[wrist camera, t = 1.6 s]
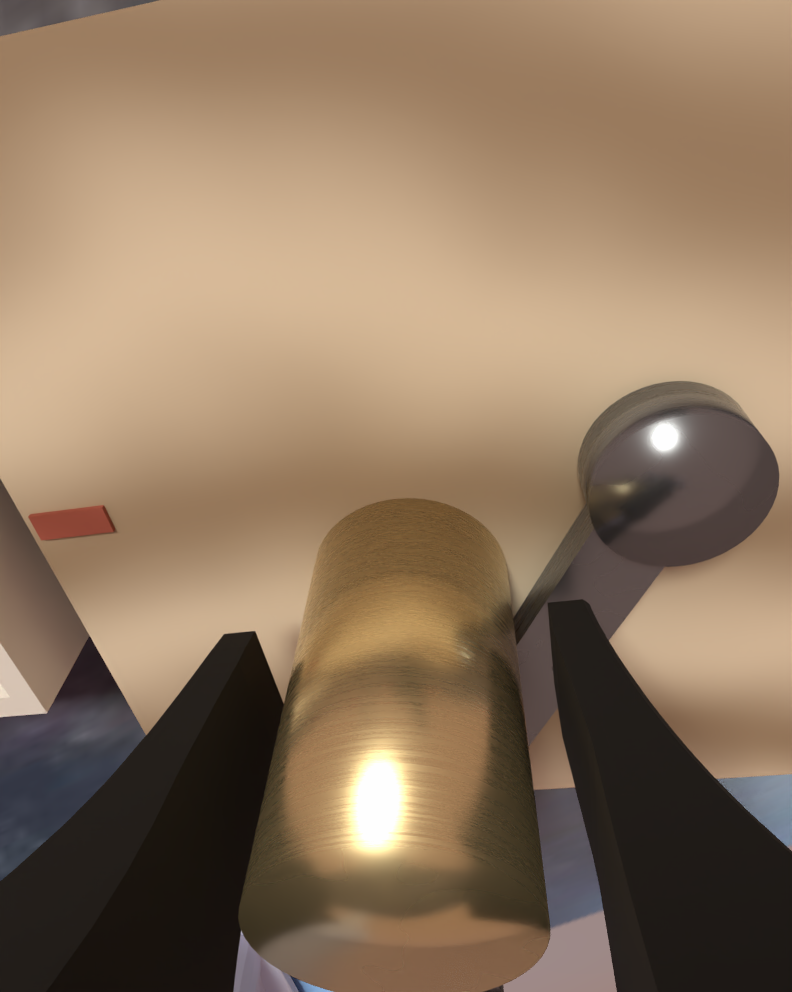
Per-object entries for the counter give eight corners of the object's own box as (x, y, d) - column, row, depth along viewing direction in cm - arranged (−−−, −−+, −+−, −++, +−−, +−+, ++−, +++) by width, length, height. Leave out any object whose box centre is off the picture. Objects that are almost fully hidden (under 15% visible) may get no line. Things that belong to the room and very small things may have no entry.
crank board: (776, 733, 19) (796, 777, 18) (201, 773, 21) (188, 814, 20) (933, -168, 9) (997, -189, 8) (-166, 79, 12) (-228, 87, 10)
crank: (604, 346, 12) (718, 582, 7) (814, 425, 12) (1050, 692, 8) (361, 776, 19) (335, 1045, 14) (505, 814, 19) (527, 1084, 14)
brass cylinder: (515, 637, 16) (558, 997, 10) (337, 652, 17) (283, 1003, 11) (497, 487, 14) (539, 837, 8) (293, 510, 14) (195, 855, 9)
